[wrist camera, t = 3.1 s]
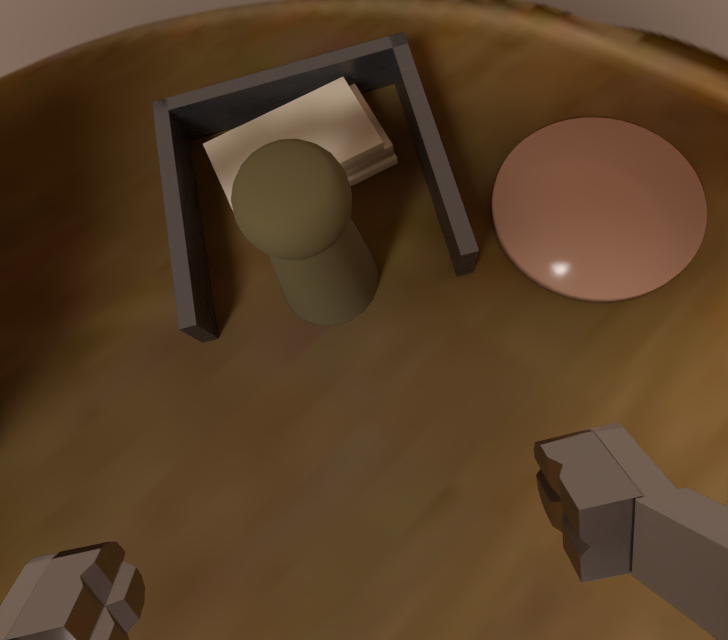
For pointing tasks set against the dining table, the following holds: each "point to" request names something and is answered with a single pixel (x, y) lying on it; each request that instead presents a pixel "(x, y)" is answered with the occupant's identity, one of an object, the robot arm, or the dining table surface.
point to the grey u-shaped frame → (262, 95)
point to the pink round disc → (598, 209)
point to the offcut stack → (311, 134)
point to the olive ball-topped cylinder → (306, 229)
